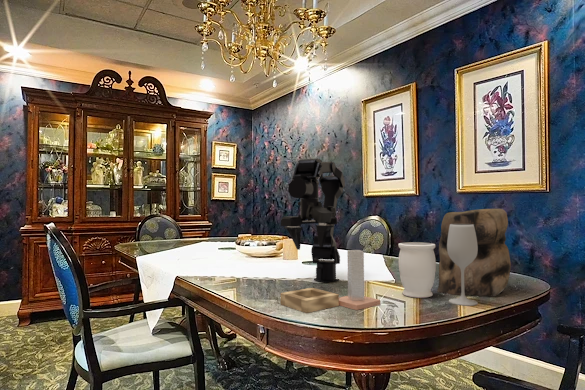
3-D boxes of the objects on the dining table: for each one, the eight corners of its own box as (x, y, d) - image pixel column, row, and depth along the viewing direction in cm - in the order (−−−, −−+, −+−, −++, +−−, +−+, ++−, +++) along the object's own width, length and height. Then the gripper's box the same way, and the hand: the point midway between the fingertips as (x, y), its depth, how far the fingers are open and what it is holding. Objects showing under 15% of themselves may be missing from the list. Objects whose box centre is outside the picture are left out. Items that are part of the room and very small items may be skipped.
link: (348, 298, 108) (347, 250, 108) (360, 297, 108) (359, 249, 108) (351, 301, 104) (351, 251, 105) (364, 300, 105) (363, 251, 105)
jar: (417, 300, 109) (416, 246, 109) (391, 293, 118) (390, 243, 118) (444, 296, 114) (443, 244, 114) (417, 289, 123) (416, 241, 123)
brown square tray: (311, 298, 113) (311, 287, 113) (338, 305, 104) (338, 294, 104) (280, 304, 106) (280, 293, 106) (306, 313, 98) (306, 300, 98)
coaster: (355, 298, 112) (355, 294, 112) (380, 304, 105) (380, 299, 105) (332, 303, 107) (332, 298, 107) (356, 310, 100) (356, 305, 100)
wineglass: (482, 306, 102) (480, 225, 103) (450, 305, 104) (449, 225, 104) (474, 299, 110) (473, 223, 110) (445, 298, 111) (444, 223, 112)
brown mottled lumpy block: (508, 300, 108) (506, 209, 109) (432, 292, 119) (430, 209, 120) (514, 287, 125) (512, 208, 125) (446, 281, 136) (445, 208, 136)
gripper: (302, 198, 112) (302, 253, 112) (348, 198, 124) (349, 248, 123) (279, 198, 121) (280, 249, 121) (325, 198, 133) (325, 245, 132)
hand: (310, 248), depth 124 cm, fingers open, 9 cm apart
